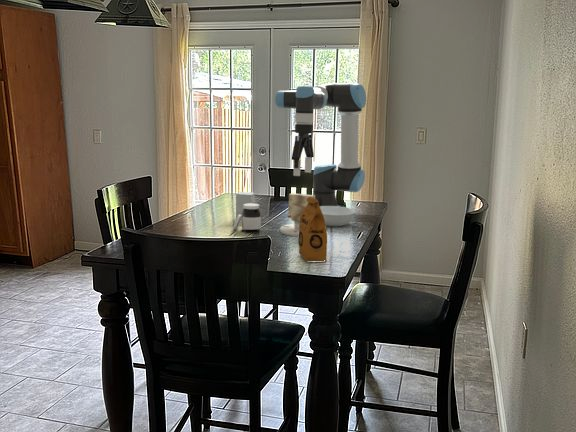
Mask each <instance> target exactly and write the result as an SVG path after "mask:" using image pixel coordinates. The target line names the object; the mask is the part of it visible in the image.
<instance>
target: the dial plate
mask: <svg viewBox="0 0 576 432" xmlns="http://www.w3.org/2000/svg"><path fill="white" fill-rule="evenodd" d="M299 225H300V222H296V221H293V223H291V224H285V225H282V226H280V230H279V231H280V233H281V234H283V235H286V236H291V237H298V236H299Z"/></svg>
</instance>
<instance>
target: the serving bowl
mask: <svg viewBox="0 0 576 432" xmlns="http://www.w3.org/2000/svg"><path fill="white" fill-rule="evenodd" d="M320 209H321V211H322V214H323V216H324V220H325V225H326V227H335V226H336V227H340V226H346V225H348V224H350V223H351V222H352V221H353V220H354V219H355V217H356V210H354V209H352V208H350V207H345V206H339V205H338V206H320ZM336 227H335V228H336Z"/></svg>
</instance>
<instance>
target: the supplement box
mask: <svg viewBox="0 0 576 432" xmlns="http://www.w3.org/2000/svg"><path fill="white" fill-rule="evenodd" d="M255 195H256V193H255V192H252V191H251V192H249V191H240V192H238V193H236V194H235V219H236V218H237V216H238V215H242V211H243V209H244V208H243V205H244V204H247V203H254V204H255ZM241 222H242V219H241Z"/></svg>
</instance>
